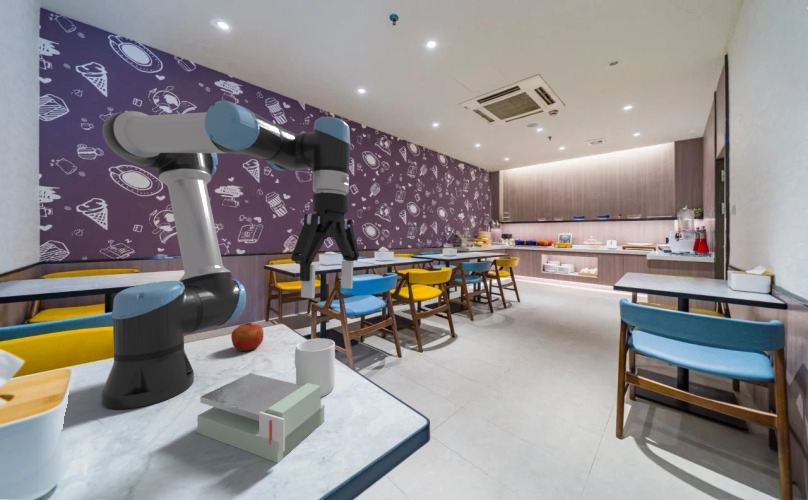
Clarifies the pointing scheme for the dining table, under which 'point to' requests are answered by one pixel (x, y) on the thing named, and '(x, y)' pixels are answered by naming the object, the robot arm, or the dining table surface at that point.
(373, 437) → the dining table surface
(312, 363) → the cup
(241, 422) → the scale base
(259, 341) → the tomato
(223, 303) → the robot arm
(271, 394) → the speckled metal plate
